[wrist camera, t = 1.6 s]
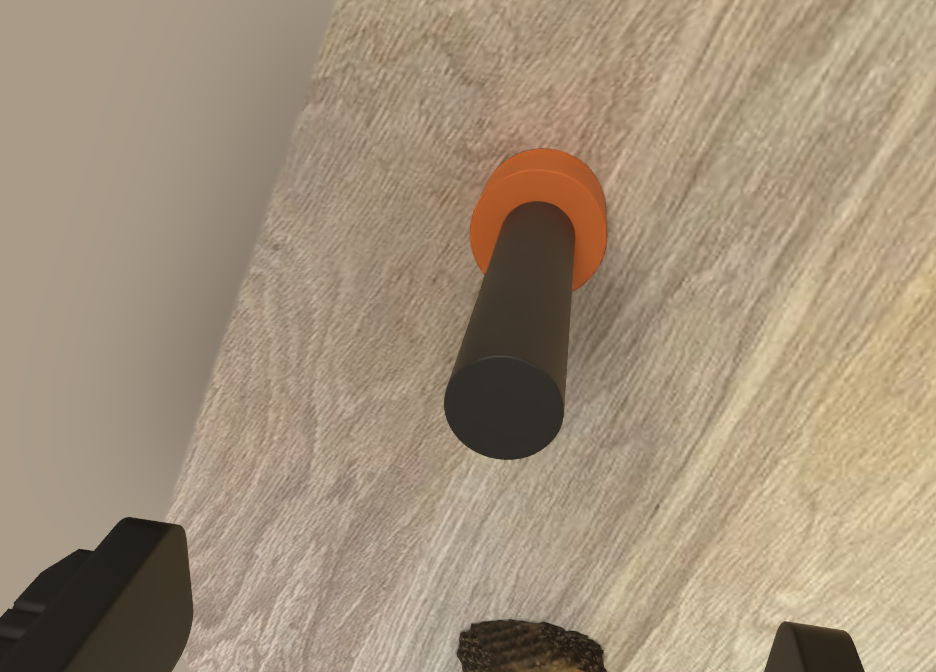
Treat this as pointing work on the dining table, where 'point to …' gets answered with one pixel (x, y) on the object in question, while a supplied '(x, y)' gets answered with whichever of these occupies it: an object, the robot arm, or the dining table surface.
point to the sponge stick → (525, 301)
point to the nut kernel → (527, 649)
